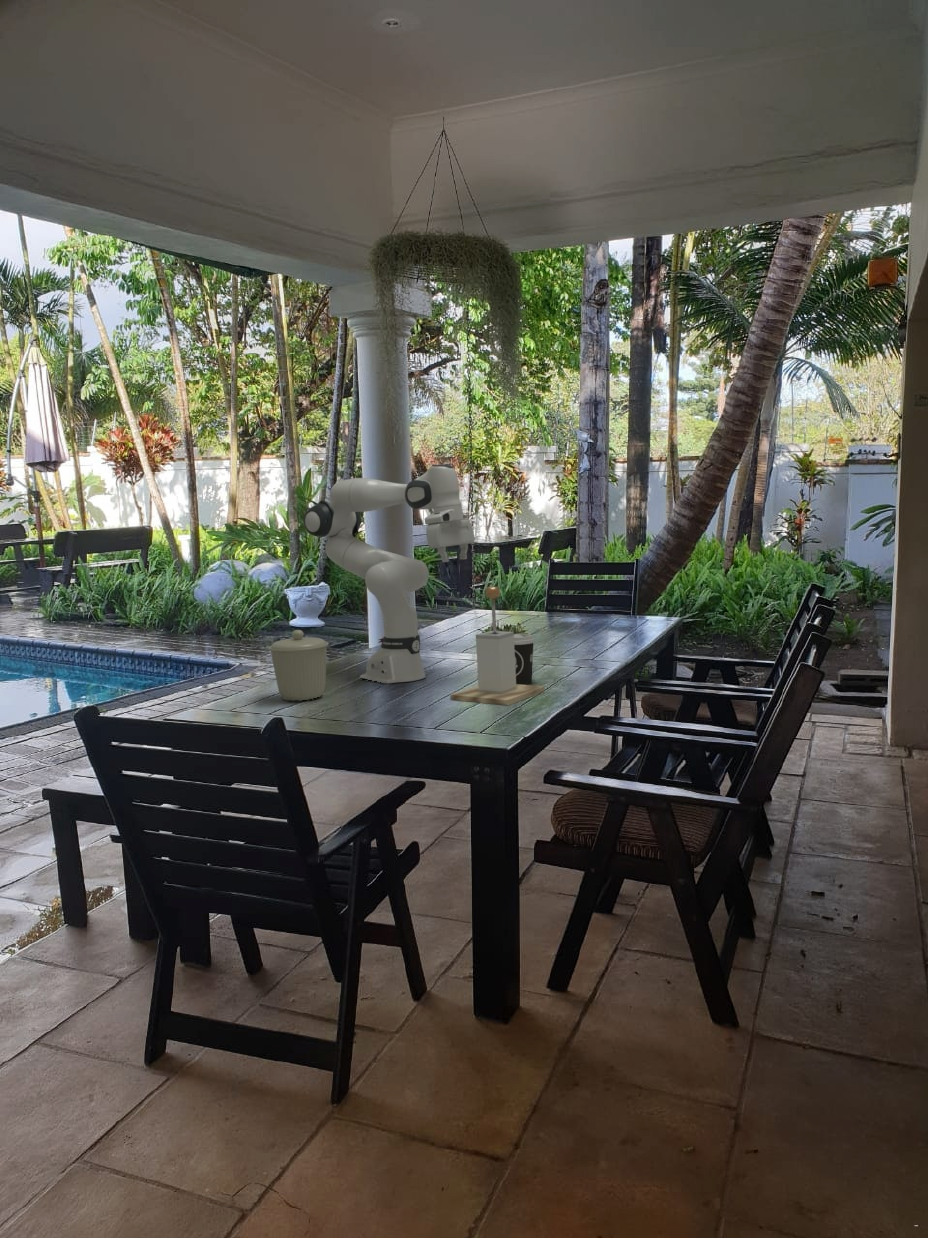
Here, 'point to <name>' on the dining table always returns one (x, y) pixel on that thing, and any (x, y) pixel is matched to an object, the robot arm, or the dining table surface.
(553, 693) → the dining table surface
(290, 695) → the canister
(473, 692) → the board
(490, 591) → the plunger
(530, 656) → the coffee cup
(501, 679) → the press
